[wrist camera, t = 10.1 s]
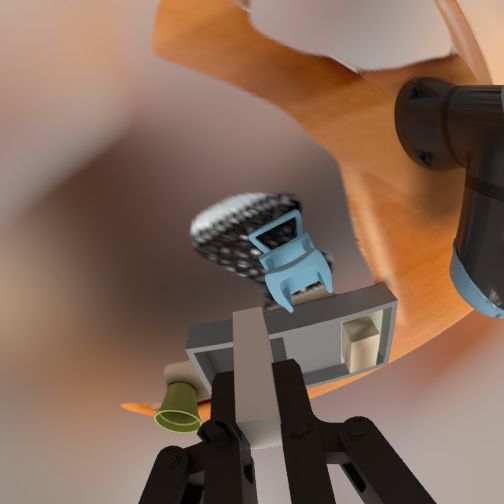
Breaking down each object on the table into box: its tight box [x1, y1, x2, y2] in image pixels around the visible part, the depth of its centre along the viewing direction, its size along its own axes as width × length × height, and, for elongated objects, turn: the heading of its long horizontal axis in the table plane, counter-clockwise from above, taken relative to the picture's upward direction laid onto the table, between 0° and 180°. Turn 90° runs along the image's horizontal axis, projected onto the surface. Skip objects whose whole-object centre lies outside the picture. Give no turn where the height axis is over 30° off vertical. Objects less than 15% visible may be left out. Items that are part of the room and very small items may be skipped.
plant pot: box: [154, 382, 202, 433], centre depth 48 cm, size 9×9×9 cm
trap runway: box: [185, 283, 398, 396], centre depth 45 cm, size 34×16×6 cm, turn 102°
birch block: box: [342, 315, 380, 373], centre depth 43 cm, size 5×8×5 cm, turn 12°
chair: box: [249, 209, 333, 313], centre depth 34 cm, size 8×8×12 cm
